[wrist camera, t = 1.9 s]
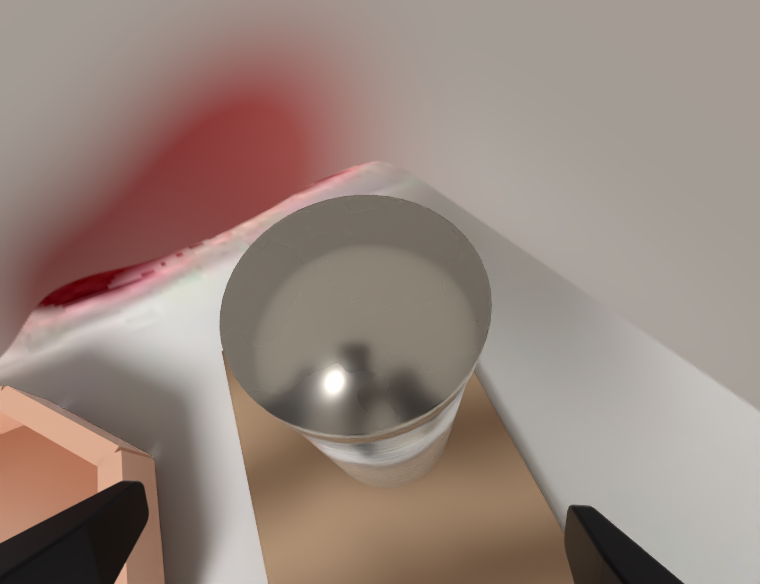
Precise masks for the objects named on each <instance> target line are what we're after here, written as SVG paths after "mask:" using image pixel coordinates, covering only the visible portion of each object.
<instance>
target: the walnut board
mask: <svg viewBox="0 0 760 584" xmlns="http://www.w3.org/2000/svg"><path fill="white" fill-rule="evenodd" d="M222 355H223V360H224V365H225V370H226V375H227V380H228V385H229V390H230V395H231V400H232V405H233V410H234V415H235V420H236V425H237V430H238V435H239V440H240V445H241V450H242V455H243V460H244V465H245V470H246V475H247V480H248V485H249V490H250V495H251V500H252V505H253V510H254V515H255V520H256V525H257V530H258V535H259V540H260V545H261V550H262V555H263V560H264V565H265V570H266V575H267V580H268V584H574V580H573V577H572V573H571V570H570V566H569V562H568V559H567V555H566V551H565V545H564V535H565V534H564V532H563V531H562V529H561V527H560V525H559V523H558V522H557V520H556V518H555V516H554V514H553V513H552V511H551V509H550V507H549V505H548V504H547V502H546V500H545V498H544V496H543V495H542V493H541V491H540V489H539V487H538V486H537V484H536V482H535V480H534V478H533V477H532V475H531V473H530V471H529V470H528V468H527V466H526V464H525V462H524V461H523V459H522V457H521V455H520V453H519V452H518V450H517V448H516V446H515V444H514V443H513V441H512V439H511V437H510V435H509V434H508V432H507V430H506V428H505V426H504V425H503V423H502V421H501V419H500V417H499V416H498V414H497V412H496V410H495V409H494V407H493V405H492V403H491V401H490V400H489V398H488V396H487V394H486V392H485V391H484V389H483V387H482V385H481V383H480V382H479V380H478V378H477V376H476V374H475V373H474V372H473V374H472V375H471V377H470V379H469V380H468V382H467V384H466V386H465V389H464V392H463V395H462V398H461V401H460V404H459V407H458V410H457V413H456V417H455V420H454V423H453V426H452V429H451V432H450V435H449V438H448V441H447V444H446V447H445V449H444V452H443V454H442V456H441V457H440V459H439V461H438V462H437V463H436V465H435V466H434V467H433V468H432V469H431V470H430V471H429V472H428V473H427V474H426V475H425V476H423V477H422V478H421V479H419V480H417V481H415V482H413V483H411V484H409V485H406V486H402V487H398V488H388V489H386V488H376V487H372V486H368V485H366V484H363V483H361V482H359V481H357V480H356V479H354V478H353V477H351V476H350V475H349V474H347V473H346V472H345V471H344V470H343V469H341V468H340V467H339V466H338V465H337V464H336V463H334V462H333V461H332V460H331V459H330V458H329V457H327V456H326V455H325V454H324V453H323V452H322V451H320V450H319V449H318V448H317V447H316V446H315V445H313V444H312V443H311V442H310V441H309V440H308V439H306V438H305V437H304V436H303V435H302V434H301V433H299V432H297V431H295V430H293V429H292V428H290V427H288V426H286V425H284V424H283V423H282V422H280V421H279V420H278V419H276V418H275V417H274V416H272V415H271V414H270V413H269V412H267V411H266V410H265V409H264V408H262V407H261V406H260V405H259V404H258V403H256V402H255V401H254V400H253V399H252V398H251V397H250V396H249V395H248V394H247V393H246V392H245V390H244V389H243V388H242V387H241V385H240V384H239V382H238V381H237V380H236V378H235V377H234V375H233V373H232V371H231V369H230V367H229V365H228V363H227V361H226V358H225V354H224V351H222Z"/></svg>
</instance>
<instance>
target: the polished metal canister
mask: <svg viewBox="0 0 760 584" xmlns="http://www.w3.org/2000/svg"><path fill="white" fill-rule="evenodd" d="M491 306H492V304H491V291H490V286H489V281H488V277H487V273H486V271H485V268H484V266H483V263H482V261H481V259H480V257H479V255H478V254H477V252H476V250H475V249H474V247H473V246H472V244H471V243H470V242H469V241H468V239H467V238H466V237H465V236H464V235H463V234H462V233H461V232H460V231H459V230H458V229H457V228H456V227H455V226H454V225H453V224H451V223H450V222H449V221H447V220H446V219H445V218H443V217H442V216H440V215H439V214H437V213H435V212H433V211H432V210H430V209H428V208H425V207H423V206H421V205H418V204H416V203H413V202H409V201H406V200H403V199H398V198H393V197H388V196H378V195H354V196H344V197H339V198H333V199H328V200H325V201H322V202H318V203H315V204H312V205H310V206H307V207H305V208H302V209H300V210H298V211H296V212H294V213H292V214H290V215H288V216H287V217H285V218H283V219H282V220H280V221H279V222H277V223H276V224H274V225H273V226H272V227H270V228H269V229H268V230H267V231H265V232H264V233H263V234H262V235H261V236H260V237H259V238H258V239H257V240H256V241H255V242H254V243H253V244H252V245H251V246H250V247H249V248H248V250H247V251H246V252H245V253H244V255H243V256H242V257H241V259H240V261H239V262H238V264H237V265H236V267H235V268H234V270H233V272H232V274H231V277H230V279H229V281H228V283H227V286H226V289H225V292H224V295H223V299H222V305H221V310H220V336H221V344H222V347H223V351H224V354H225V358H226V361H227V363H228V365H229V367H230V369H231V371H232V373H233V375H234V377H235V378H236V380H237V381H238V382H239V384H240V385H241V387H242V388H243V389H244V390H245V392H246V393H247V394H248V395H249V396H250V397H251V398H252V399H253V400H254V401H255V402H256V403H258V404H259V405H260V406H261V407H262V408H264V409H265V410H266V411H267V412H269V413H270V414H271V415H272V416H274V417H275V418H276V419H278V420H279V421H280V422H282V423H283V424H284V425H286V426H288V427H290V428H292V429H293V430H295V431H297V432H299V433H301V434H302V435H303V436H304V437H305V438H306V439H308V440H309V441H310V442H311V443H312V444H313V445H315V446H316V447H317V448H318V449H319V450H320V451H322V452H323V453H324V454H325V455H326V456H327V457H329V458H330V459H331V460H332V461H333V462H334V463H336V464H337V465H338V466H339V467H340V468H341V469H343V470H344V471H345V472H346V473H347V474H349V475H350V476H351V477H353V478H354V479H356V480H357V481H359V482H361V483H363V484H366V485H368V486H372V487H376V488H386V489H388V488H398V487H402V486H406V485H409V484H411V483H413V482H415V481H417V480H419V479H421V478H422V477H423V476H425V475H426V474H427V473H428V472H429V471H430V470H431V469H432V468H433V467H434V466H435V465H436V463H437V462H438V461H439V459H440V457H441V456H442V454H443V452H444V449H445V447H446V444H447V441H448V438H449V435H450V432H451V429H452V426H453V423H454V420H455V417H456V413H457V410H458V407H459V404H460V401H461V398H462V395H463V392H464V389H465V386H466V384H467V382H468V380H469V379H470V377H471V375H472V374H473V372H474V370H475V367H476V365H477V362H478V360H479V357H480V355H481V352H482V349H483V346H484V343H485V340H486V337H487V333H488V329H489V325H490V318H491Z"/></svg>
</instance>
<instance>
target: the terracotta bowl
mask: <svg viewBox="0 0 760 584" xmlns="http://www.w3.org/2000/svg"><path fill="white" fill-rule="evenodd" d="M123 480H134V481H141V482H142V483H143V484H144V487H145V492H146V497H147V502H148V507H149V518H148V521H147V524H146V526H145V528H144V530H143V532H142V534H141V535H140V537H139V539H138V541H137V543H136V545H135V546H134V548H133V550H132V552H131V554H130V556H129V558H128V559H127V561H126V563H125V565H124V567H123V569H122V570H121V572H120V574H119V576H118V578H117V580H116V582H115V583H114V584H165V579H164V567H163V551H162V540H161V532H160V521H159V509H158V498H157V486H156V474H155V463H154V459H151V455H150V454H148V453H146V452H144V451H142V450H140V449H138V448H136V447H135V446H133V445H131V444H129V443H127V442H125V441H123V440H121V439H120V438H118V437H116V436H114V435H112V434H110V433H108V432H106V431H105V430H103V429H101V428H99V427H97V426H95V425H93V424H91V423H90V422H88V421H86V420H84V419H82V418H80V417H78V416H76V415H75V414H73V413H71V412H69V411H67V410H65V409H63V408H61V407H60V406H58V405H56V404H54V403H52V402H50V401H48V400H46V399H43V398H40V397H37V396H35V395H32V394H29V393H26V392H23V391H21V390H18V389H15V388H12V387H10V386H7V385H6V387H5V386H0V543H1V542H3V541H5V540H7V539H9V538H11V537H13V536H15V535H17V534H19V533H21V532H23V531H25V530H27V529H28V528H30V527H32V526H34V525H36V524H38V523H40V522H42V521H44V520H46V519H48V518H50V517H52V516H54V515H56V514H58V513H60V512H61V511H63V510H65V509H67V508H69V507H71V506H73V505H75V504H77V503H79V502H81V501H83V500H85V499H87V498H89V497H91V496H93V495H94V494H96V493H98V492H100V491H102V490H104V489H106V488H108V487H110V486H112V485H114V484H116V483H118V482H120V481H123Z"/></svg>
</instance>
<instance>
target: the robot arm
mask: <svg viewBox="0 0 760 584" xmlns="http://www.w3.org/2000/svg"><path fill="white" fill-rule="evenodd" d="M148 518H149V507H148V502H147V497H146V492H145V487H144V484H143V483H142V482H141V481H134V480H123V481H120V482H118V483H116V484H114V485H112V486H110V487H108V488H106V489H104V490H102V491H100V492H98V493H96V494H94V495H93V496H91V497H89V498H87V499H85V500H83V501H81V502H79V503H77V504H75V505H73V506H71V507H69V508H67V509H65V510H63V511H61V512H60V513H58V514H56V515H54V516H52V517H50V518H48V519H46V520H44V521H42V522H40V523H38V524H36V525H34V526H32V527H30V528H28V529H27V530H25V531H23V532H21V533H19V534H17V535H15V536H13V537H11V538H9V539H7V540H5V541H3V542H1V543H0V584H114V583H115V582H116V580H117V578H118V576H119V574H120V572H121V570H122V569H123V567H124V565H125V563H126V561H127V559H128V558H129V556H130V554H131V552H132V550H133V548H134V546H135V545H136V543H137V541H138V539H139V537H140V535H141V534H142V532H143V530H144V528H145V526H146V524H147V521H148ZM564 545H565V551H566V555H567V559H568V562H569V566H570V570H571V573H572V577H573V580H574V584H684V583H683V582H682V581H681V580H679V579H678V578H677V577H676V576H675V575H673V574H672V573H671V572H670V571H669V570H667V569H666V568H665V567H664V566H663V565H661V564H660V563H659V562H658V561H657V560H655V559H654V558H653V557H652V556H651V555H649V554H648V553H647V552H646V551H645V550H644V549H642V548H641V547H640V546H639V545H638V544H636V543H635V542H634V541H633V540H632V539H630V538H629V537H628V536H627V535H626V534H624V533H623V532H622V531H621V530H620V529H618V528H617V527H616V526H615V525H614V524H613V523H611V522H610V521H609V520H608V519H607V518H605V517H604V516H603V515H602V514H601V513H599V512H598V511H597V510H596V509H595V508H593V507H591V506H588V505H571V506H569V508H568V511H567V518H566V527H565V535H564Z"/></svg>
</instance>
